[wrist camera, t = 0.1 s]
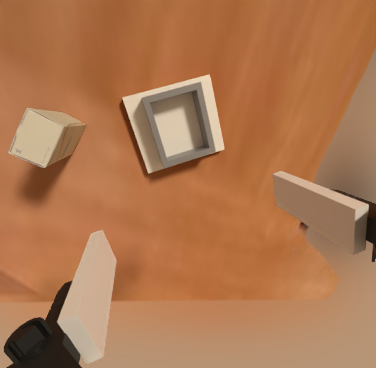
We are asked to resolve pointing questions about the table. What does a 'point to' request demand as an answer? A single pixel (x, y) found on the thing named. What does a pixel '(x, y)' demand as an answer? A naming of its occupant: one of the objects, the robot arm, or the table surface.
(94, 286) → the robot arm
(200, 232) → the table surface
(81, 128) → the skincare box
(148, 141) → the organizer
